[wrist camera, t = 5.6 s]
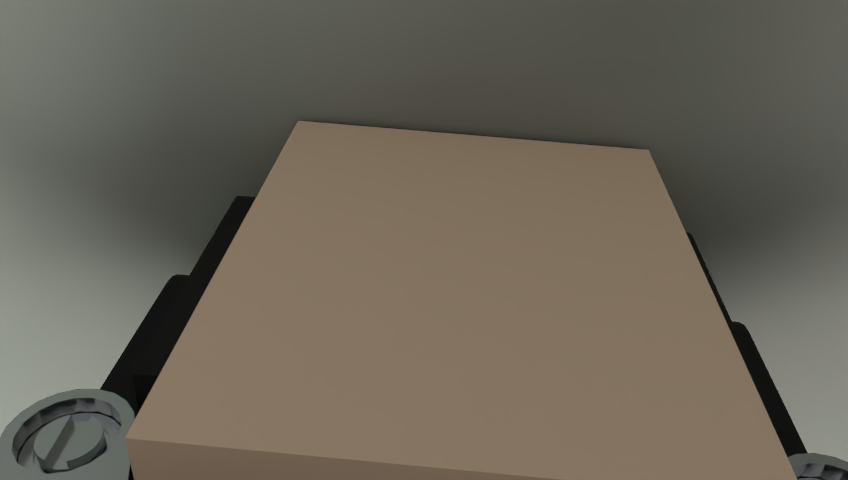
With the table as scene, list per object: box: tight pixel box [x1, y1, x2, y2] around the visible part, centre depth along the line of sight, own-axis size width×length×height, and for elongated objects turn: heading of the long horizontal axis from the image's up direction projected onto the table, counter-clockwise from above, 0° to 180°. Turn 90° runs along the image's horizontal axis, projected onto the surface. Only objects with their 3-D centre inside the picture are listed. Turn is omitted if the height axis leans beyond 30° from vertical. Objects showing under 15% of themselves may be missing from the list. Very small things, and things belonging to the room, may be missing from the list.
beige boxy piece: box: [125, 121, 797, 480], centre depth 10 cm, size 7×5×6 cm
